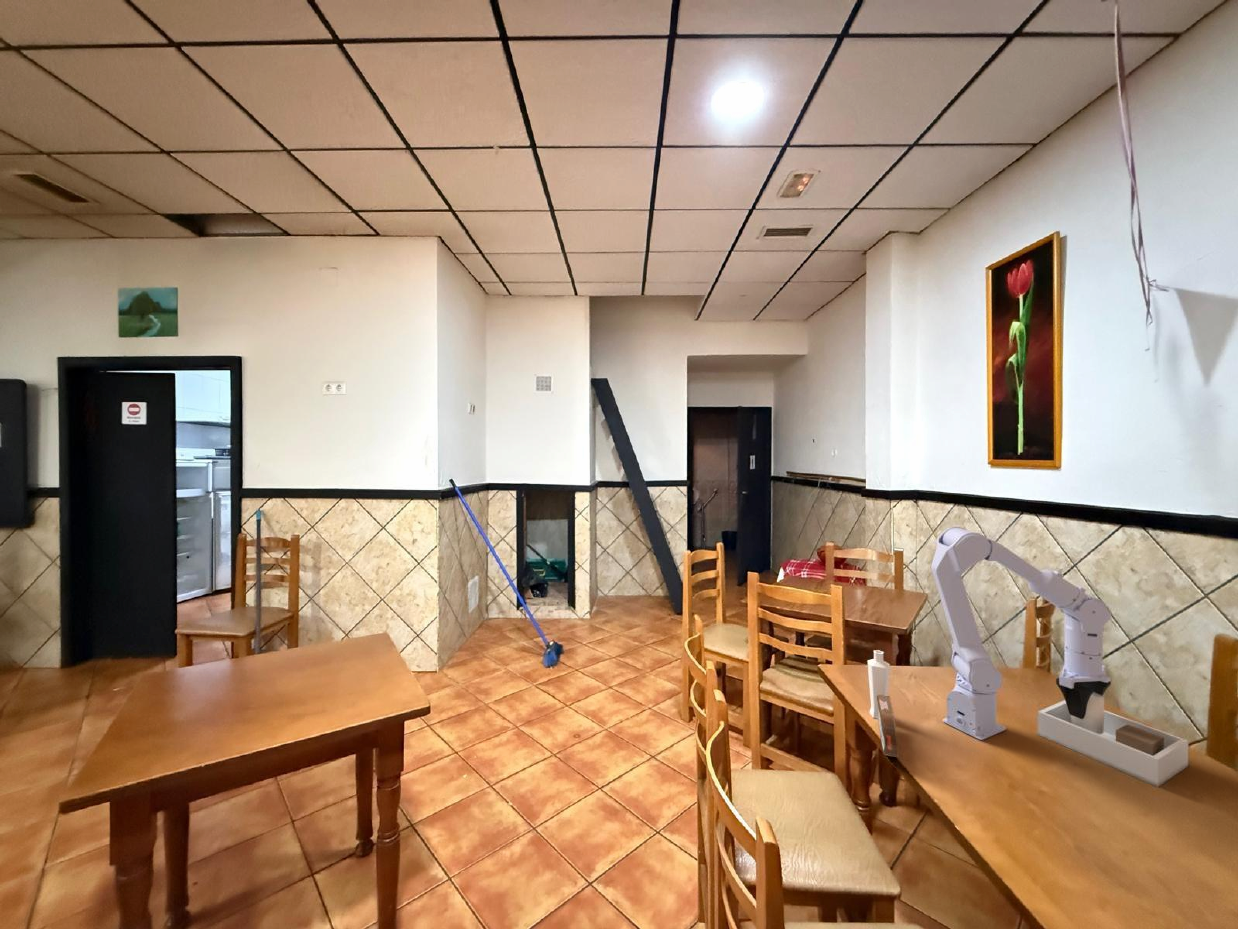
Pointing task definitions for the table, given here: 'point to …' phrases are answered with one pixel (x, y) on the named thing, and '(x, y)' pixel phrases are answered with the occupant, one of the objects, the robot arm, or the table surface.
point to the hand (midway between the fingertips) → (1082, 713)
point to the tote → (1115, 745)
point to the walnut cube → (1140, 739)
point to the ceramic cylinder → (1092, 715)
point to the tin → (887, 726)
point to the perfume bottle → (877, 680)
